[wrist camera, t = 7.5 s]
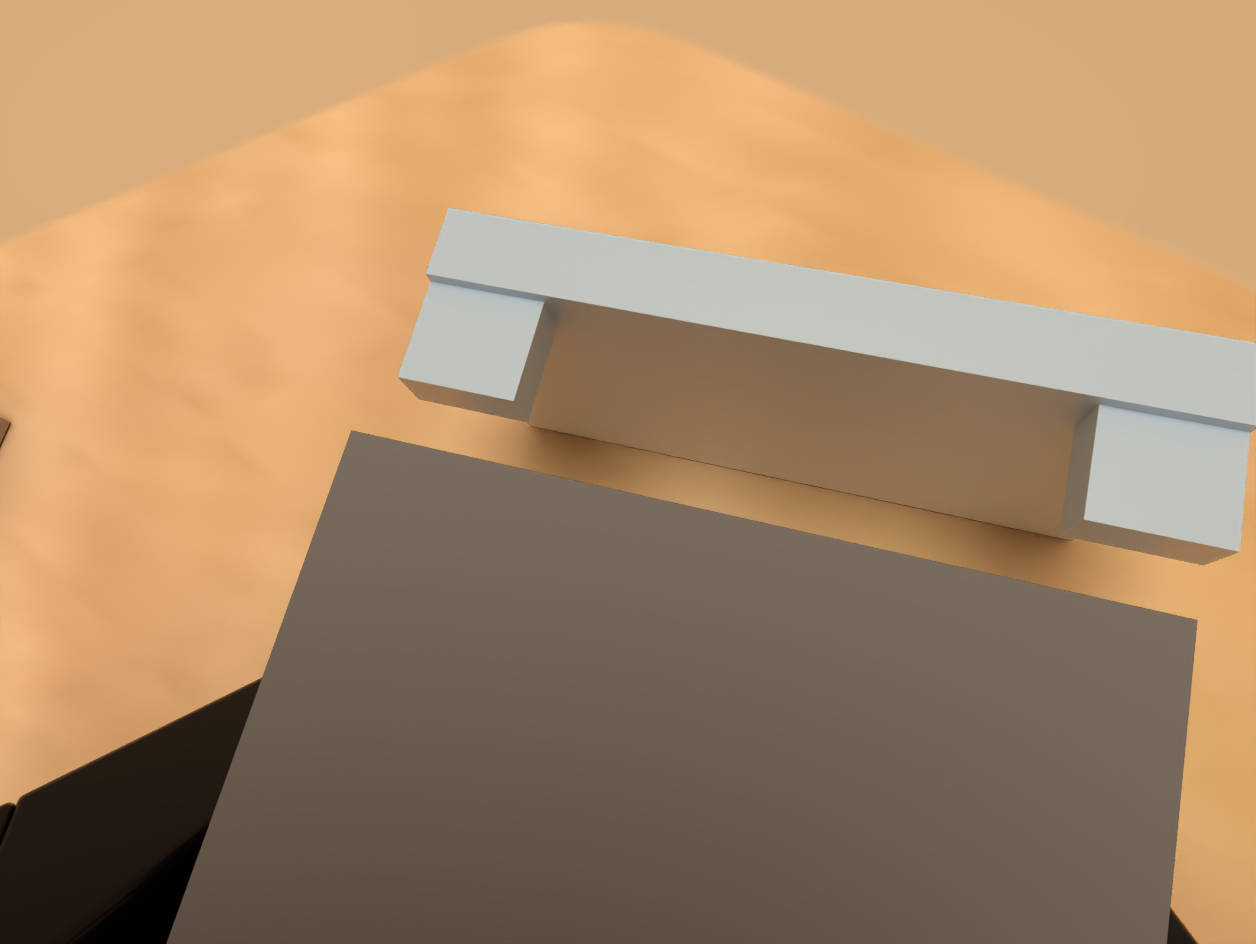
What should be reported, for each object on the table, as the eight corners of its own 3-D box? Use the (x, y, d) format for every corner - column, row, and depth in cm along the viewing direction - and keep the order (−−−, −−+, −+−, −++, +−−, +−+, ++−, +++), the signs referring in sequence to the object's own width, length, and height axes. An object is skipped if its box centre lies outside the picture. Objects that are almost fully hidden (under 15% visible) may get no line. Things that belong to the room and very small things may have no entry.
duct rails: (1059, 1163, 13) (1303, 1491, 7) (-185, 745, 17) (-638, 748, 12) (1138, 498, 16) (1366, 360, 10) (35, 276, 20) (-250, 91, 14)
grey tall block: (824, 1025, 13) (1077, 1862, 3) (525, 927, 13) (16, 1359, 4) (882, 706, 14) (1196, 619, 4) (603, 635, 15) (351, 430, 5)
